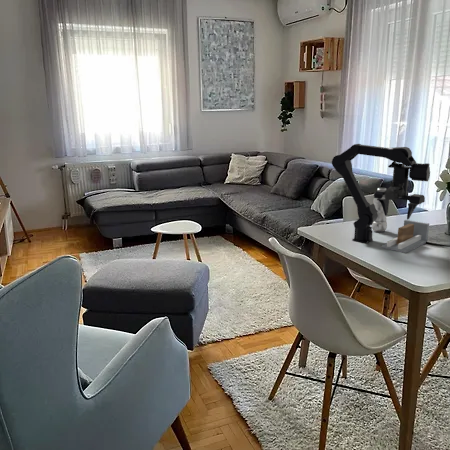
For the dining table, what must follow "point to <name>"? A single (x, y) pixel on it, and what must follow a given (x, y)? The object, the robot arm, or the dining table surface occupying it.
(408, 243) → the track board
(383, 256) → the dining table surface
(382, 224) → the plastic bottle
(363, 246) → the dining table surface
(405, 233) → the door panel
